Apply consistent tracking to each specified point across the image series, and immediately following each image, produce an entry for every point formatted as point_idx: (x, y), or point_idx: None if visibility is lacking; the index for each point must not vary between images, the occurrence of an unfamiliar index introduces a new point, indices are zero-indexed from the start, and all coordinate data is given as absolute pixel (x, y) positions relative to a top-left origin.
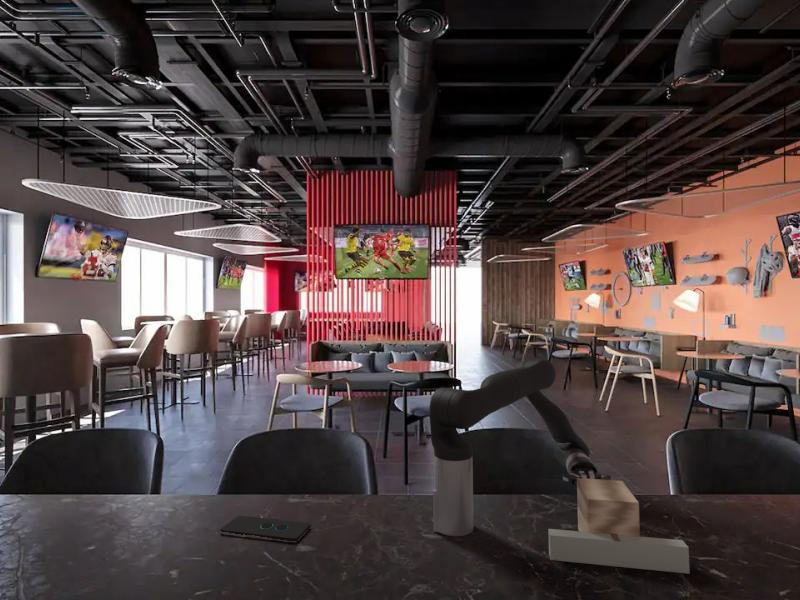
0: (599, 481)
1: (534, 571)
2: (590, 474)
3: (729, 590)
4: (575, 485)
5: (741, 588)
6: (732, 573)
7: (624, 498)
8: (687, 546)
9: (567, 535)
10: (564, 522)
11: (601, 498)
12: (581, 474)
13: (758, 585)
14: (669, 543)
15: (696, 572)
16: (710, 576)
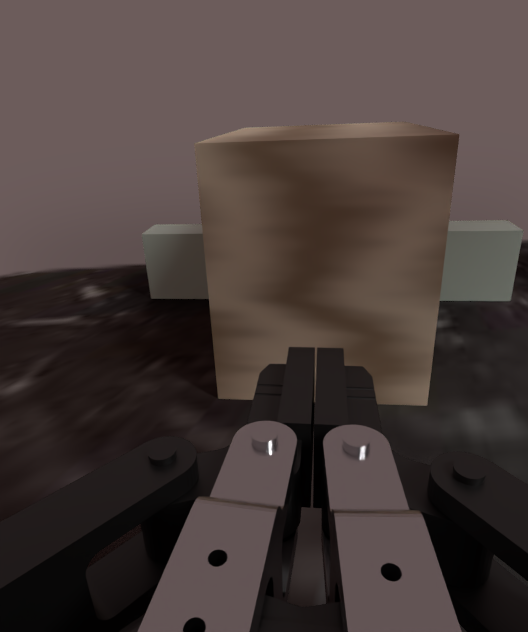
0: (327, 135)
1: (521, 265)
2: (230, 587)
3: (127, 268)
4: (510, 590)
5: (96, 272)
6: (58, 292)
7: (277, 127)
8: (154, 225)
9: (457, 223)
10: (509, 448)
11: (357, 124)
12: (430, 572)
13: (49, 278)
14: (190, 227)
15: (142, 289)
16: (122, 284)
